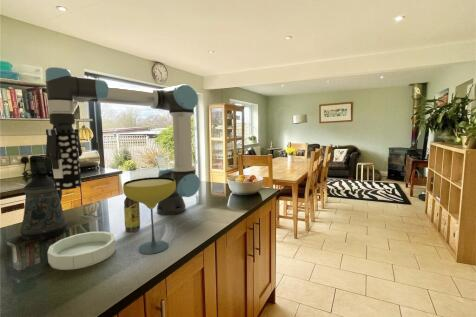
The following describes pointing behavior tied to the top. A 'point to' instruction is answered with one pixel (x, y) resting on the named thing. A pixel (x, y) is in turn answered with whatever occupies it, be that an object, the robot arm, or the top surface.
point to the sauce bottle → (131, 215)
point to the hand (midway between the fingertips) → (67, 175)
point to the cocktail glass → (150, 203)
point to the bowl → (81, 250)
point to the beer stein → (42, 210)
